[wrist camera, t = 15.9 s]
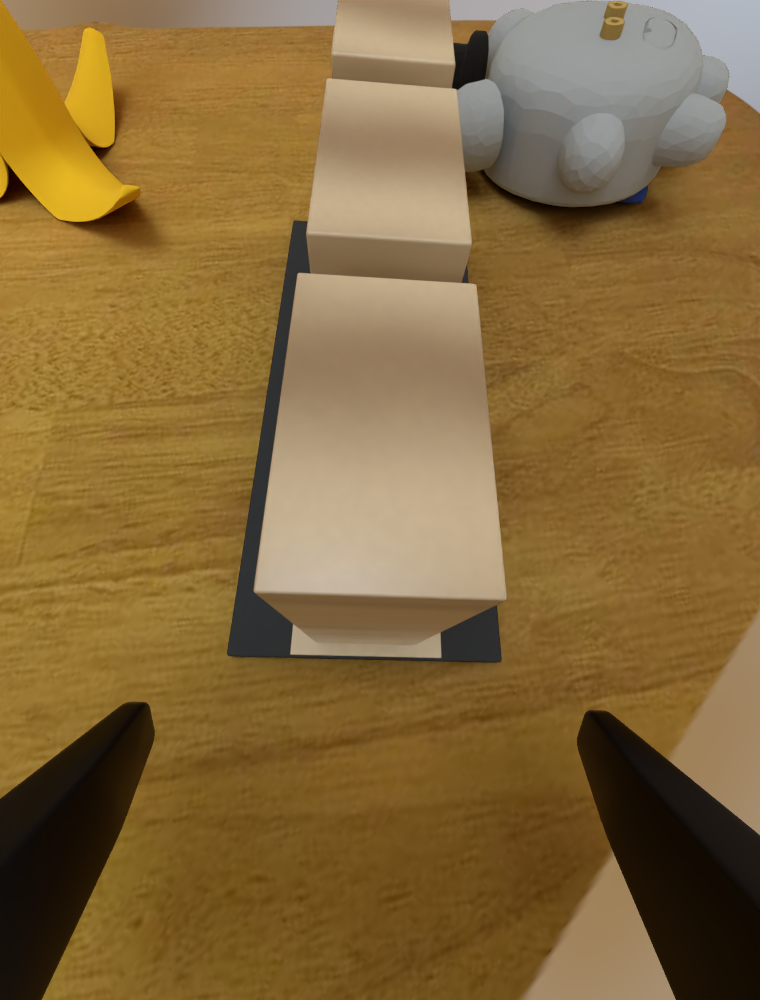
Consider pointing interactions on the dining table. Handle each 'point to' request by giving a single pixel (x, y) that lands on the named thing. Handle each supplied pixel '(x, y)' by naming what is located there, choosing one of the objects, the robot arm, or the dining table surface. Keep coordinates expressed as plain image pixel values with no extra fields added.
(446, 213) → the word tile
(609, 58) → the figurine
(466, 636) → the word board
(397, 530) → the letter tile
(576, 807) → the dining table surface
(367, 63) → the light wood tall block
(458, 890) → the dining table surface
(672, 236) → the dining table surface
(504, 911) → the dining table surface
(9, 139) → the banana peel
